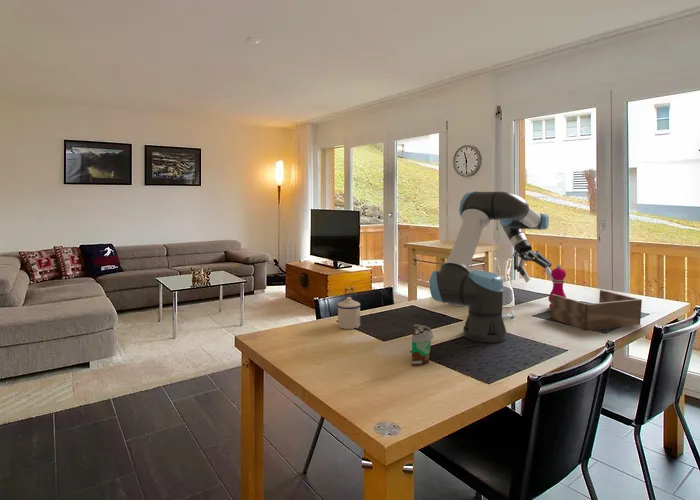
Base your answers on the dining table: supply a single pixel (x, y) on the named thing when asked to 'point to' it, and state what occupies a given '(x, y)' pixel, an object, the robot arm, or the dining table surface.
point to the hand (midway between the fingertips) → (540, 280)
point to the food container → (421, 345)
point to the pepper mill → (557, 282)
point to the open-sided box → (597, 311)
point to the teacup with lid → (349, 314)
